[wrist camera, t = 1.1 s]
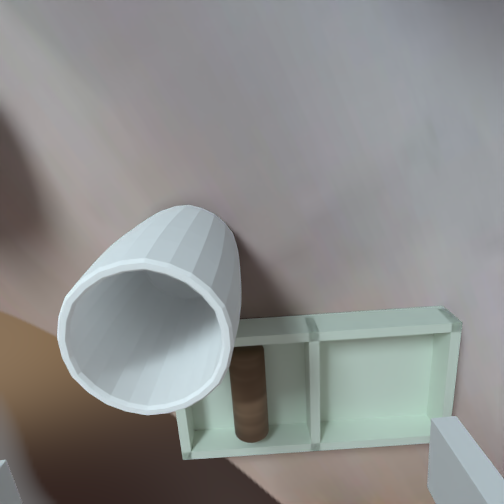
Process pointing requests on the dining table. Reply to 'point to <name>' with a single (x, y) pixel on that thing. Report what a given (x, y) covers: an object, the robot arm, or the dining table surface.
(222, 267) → the cup
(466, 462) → the robot arm
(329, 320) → the caddy
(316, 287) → the dining table surface
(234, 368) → the dowel
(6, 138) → the dining table surface
